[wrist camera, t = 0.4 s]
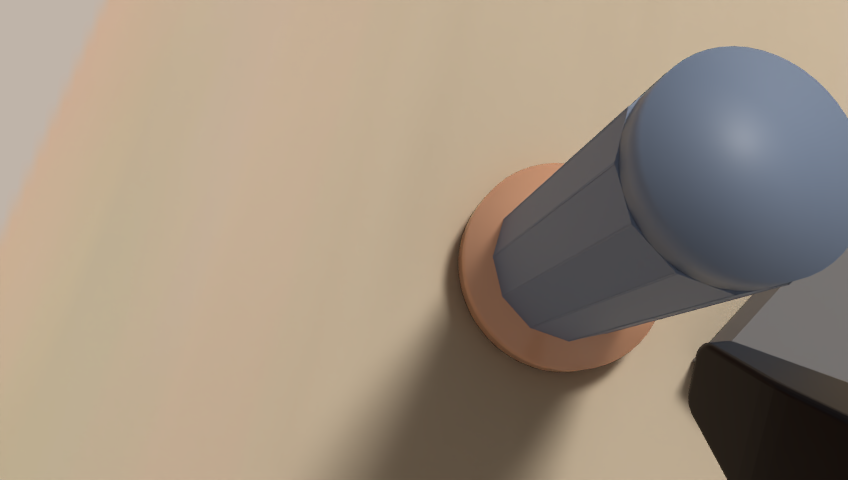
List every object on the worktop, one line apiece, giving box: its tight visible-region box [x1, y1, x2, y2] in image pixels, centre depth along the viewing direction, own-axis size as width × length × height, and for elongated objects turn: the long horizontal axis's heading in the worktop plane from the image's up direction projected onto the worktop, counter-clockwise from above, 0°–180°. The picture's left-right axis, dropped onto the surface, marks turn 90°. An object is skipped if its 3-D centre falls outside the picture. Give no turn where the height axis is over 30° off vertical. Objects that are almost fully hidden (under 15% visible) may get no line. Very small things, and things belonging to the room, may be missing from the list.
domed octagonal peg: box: [493, 46, 848, 342], centre depth 19 cm, size 5×5×10 cm
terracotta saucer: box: [458, 163, 655, 372], centre depth 23 cm, size 7×7×5 cm
